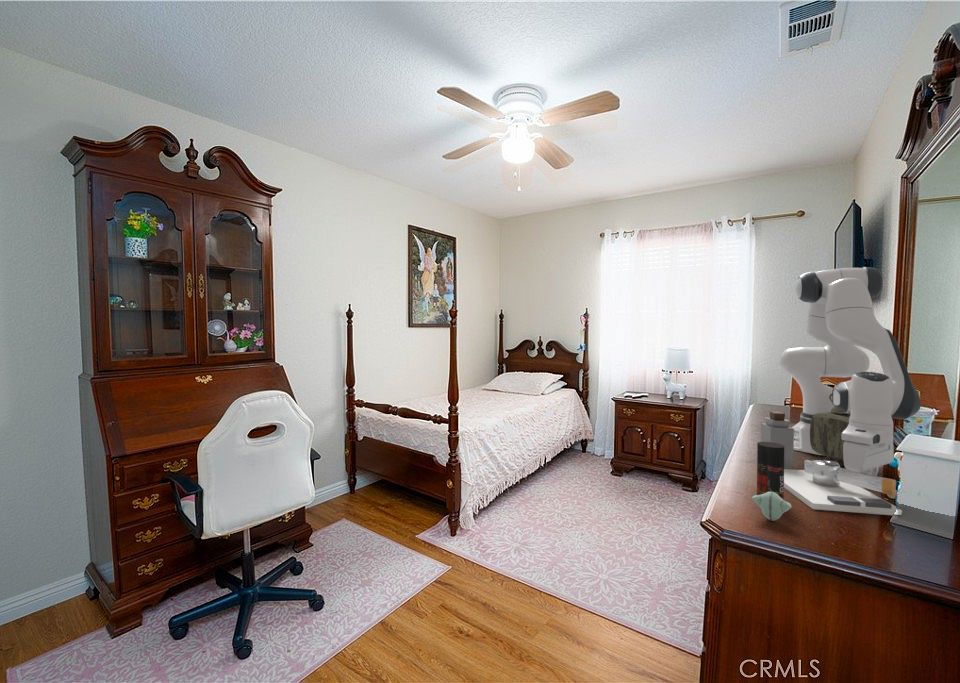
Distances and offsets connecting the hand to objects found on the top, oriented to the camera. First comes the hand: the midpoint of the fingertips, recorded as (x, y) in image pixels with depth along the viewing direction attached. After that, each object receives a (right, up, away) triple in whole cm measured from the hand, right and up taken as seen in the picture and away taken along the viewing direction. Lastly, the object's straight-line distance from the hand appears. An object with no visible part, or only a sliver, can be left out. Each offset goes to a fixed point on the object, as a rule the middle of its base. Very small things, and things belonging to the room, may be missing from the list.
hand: (869, 482), depth 114 cm
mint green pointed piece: (-36, -5, -14) cm, 39 cm away
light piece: (-5, -2, +1) cm, 6 cm away
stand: (-9, -4, +4) cm, 11 cm away
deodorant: (-29, -4, -2) cm, 29 cm away
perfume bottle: (-7, -3, +26) cm, 27 cm away
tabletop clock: (+12, -3, +24) cm, 27 cm away
